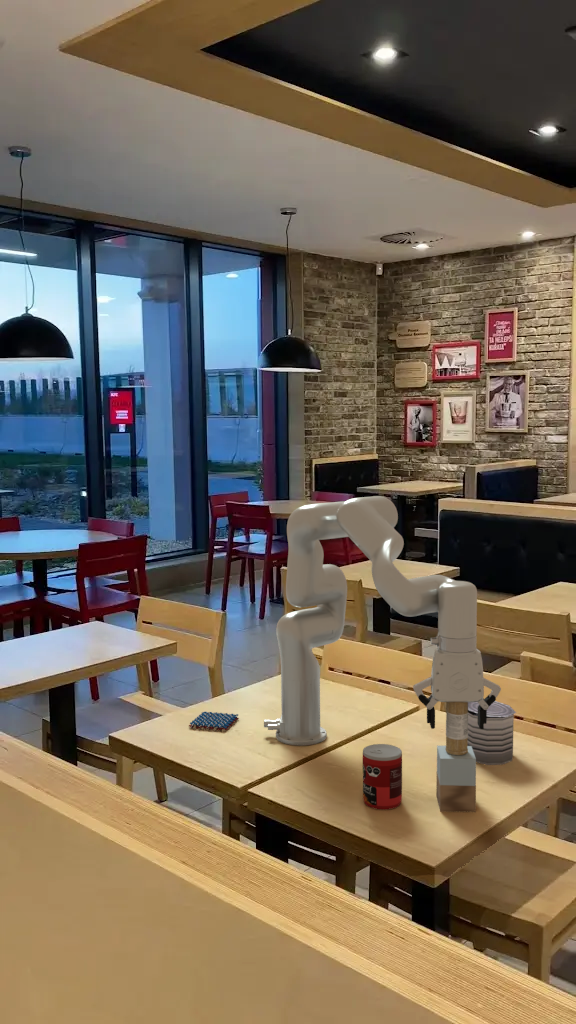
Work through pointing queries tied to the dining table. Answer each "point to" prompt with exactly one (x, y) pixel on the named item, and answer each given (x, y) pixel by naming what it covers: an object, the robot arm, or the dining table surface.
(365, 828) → the dining table surface
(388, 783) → the canned food
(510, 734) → the can
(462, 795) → the tower base slab
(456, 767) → the pale grey-blue cube
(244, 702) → the dining table surface
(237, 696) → the dining table surface
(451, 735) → the sprinkles bottle
